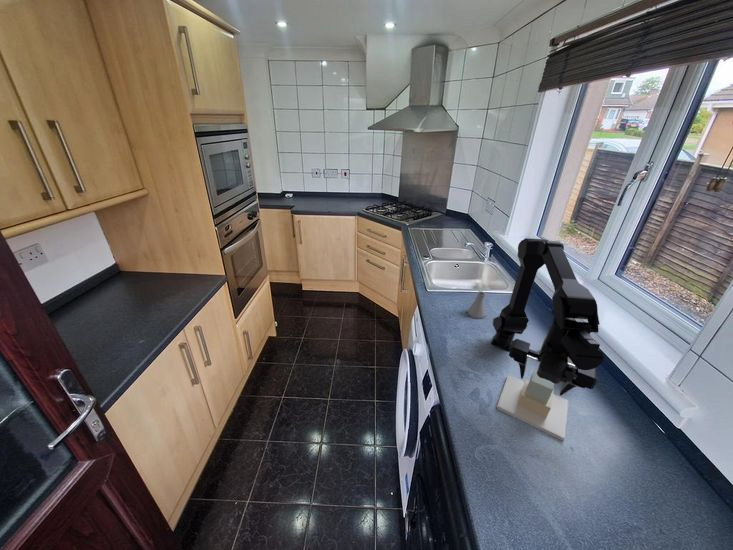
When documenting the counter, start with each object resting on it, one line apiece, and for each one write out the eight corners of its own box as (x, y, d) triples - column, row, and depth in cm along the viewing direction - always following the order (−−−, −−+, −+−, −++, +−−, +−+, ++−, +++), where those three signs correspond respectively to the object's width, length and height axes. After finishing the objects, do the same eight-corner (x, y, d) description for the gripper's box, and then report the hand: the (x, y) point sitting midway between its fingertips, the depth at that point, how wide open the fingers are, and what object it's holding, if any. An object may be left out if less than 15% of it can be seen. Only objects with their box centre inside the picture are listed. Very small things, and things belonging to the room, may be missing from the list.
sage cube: (528, 382, 84) (534, 369, 81) (549, 391, 81) (555, 377, 79) (525, 394, 80) (531, 380, 78) (546, 403, 77) (553, 389, 75)
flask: (489, 317, 121) (495, 296, 116) (474, 320, 118) (480, 299, 114) (477, 307, 127) (482, 287, 122) (463, 310, 124) (468, 290, 120)
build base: (507, 377, 92) (511, 364, 90) (567, 402, 84) (573, 390, 82) (496, 408, 82) (500, 395, 79) (563, 441, 74) (570, 427, 71)
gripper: (512, 341, 71) (496, 388, 78) (608, 377, 62) (580, 426, 69) (521, 319, 79) (506, 363, 86) (606, 348, 70) (582, 395, 77)
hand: (540, 385), depth 79 cm, fingers open, 9 cm apart
